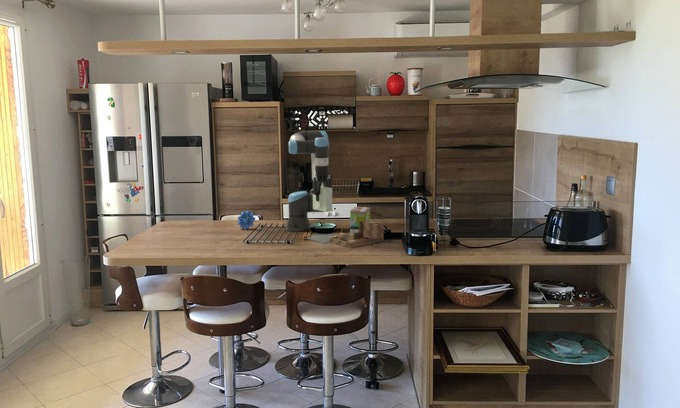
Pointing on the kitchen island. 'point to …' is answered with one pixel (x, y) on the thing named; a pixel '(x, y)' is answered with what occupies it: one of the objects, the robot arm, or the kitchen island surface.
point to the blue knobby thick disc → (246, 219)
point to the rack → (365, 230)
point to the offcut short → (346, 236)
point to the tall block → (324, 199)
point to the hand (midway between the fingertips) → (322, 206)
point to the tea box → (358, 217)
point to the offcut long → (348, 240)
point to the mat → (320, 238)
